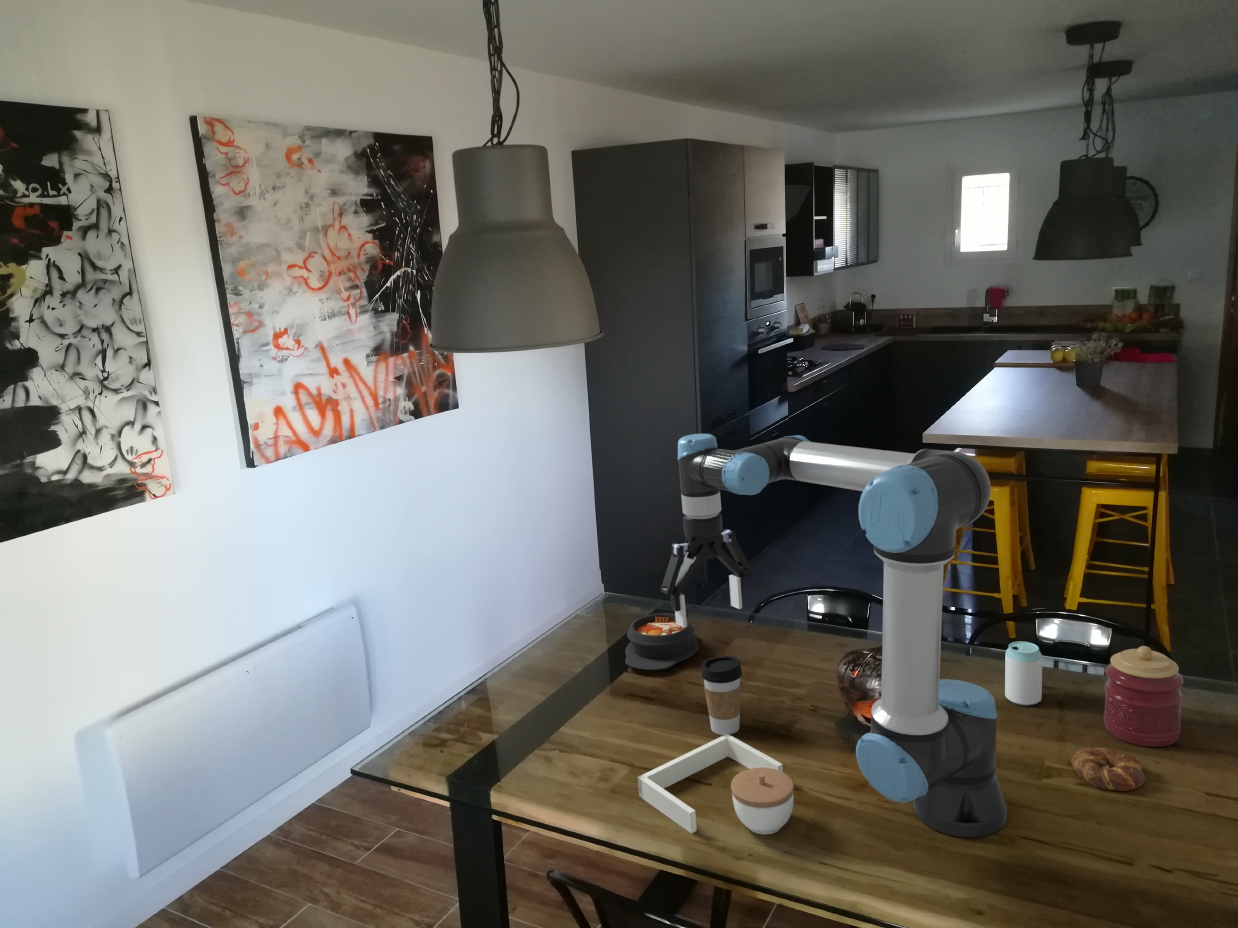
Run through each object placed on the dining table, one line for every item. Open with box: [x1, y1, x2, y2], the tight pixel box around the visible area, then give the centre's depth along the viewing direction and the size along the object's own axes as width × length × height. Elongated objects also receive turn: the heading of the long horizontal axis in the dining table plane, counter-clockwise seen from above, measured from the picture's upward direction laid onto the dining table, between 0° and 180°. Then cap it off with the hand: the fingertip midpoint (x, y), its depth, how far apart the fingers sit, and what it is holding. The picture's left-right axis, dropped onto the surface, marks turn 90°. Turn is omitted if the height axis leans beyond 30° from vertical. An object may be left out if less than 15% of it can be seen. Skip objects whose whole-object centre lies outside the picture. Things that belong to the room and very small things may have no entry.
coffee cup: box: [700, 655, 743, 736], centre depth 188 cm, size 8×8×15 cm
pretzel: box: [1071, 747, 1146, 792], centre depth 161 cm, size 12×11×4 cm
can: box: [1004, 640, 1043, 707], centre depth 189 cm, size 7×7×12 cm
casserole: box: [624, 612, 700, 671], centre depth 226 cm, size 25×19×8 cm
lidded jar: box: [730, 768, 795, 836], centre depth 155 cm, size 11×11×9 cm
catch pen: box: [637, 734, 784, 835], centre depth 167 cm, size 15×22×4 cm
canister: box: [1103, 645, 1184, 748], centre depth 173 cm, size 13×13×18 cm
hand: (709, 615), depth 179 cm, fingers open, 13 cm apart
